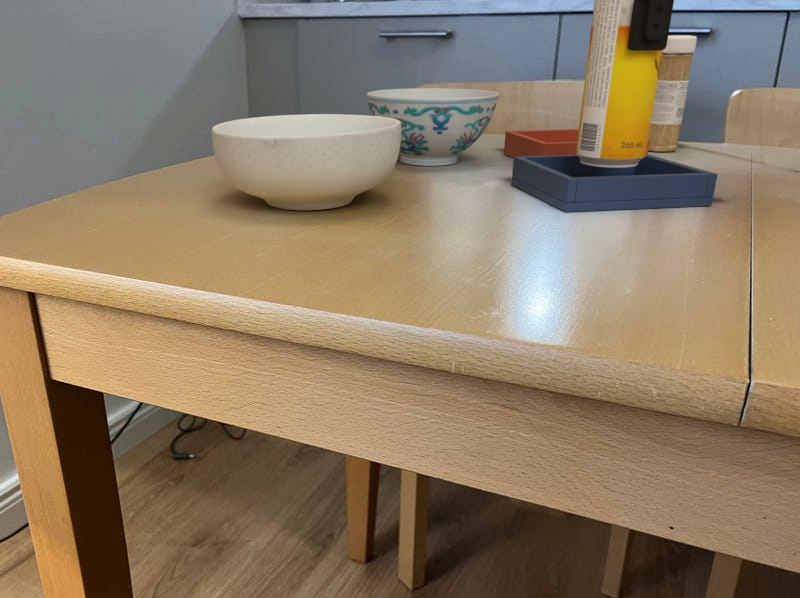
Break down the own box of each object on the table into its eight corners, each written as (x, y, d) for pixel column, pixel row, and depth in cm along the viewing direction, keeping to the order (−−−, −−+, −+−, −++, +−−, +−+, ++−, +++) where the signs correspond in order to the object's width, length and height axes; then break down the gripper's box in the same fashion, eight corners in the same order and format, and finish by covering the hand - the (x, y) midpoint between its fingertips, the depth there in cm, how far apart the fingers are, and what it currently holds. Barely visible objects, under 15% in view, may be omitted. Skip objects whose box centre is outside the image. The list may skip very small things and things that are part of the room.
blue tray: (637, 180, 77) (641, 152, 76) (711, 206, 66) (718, 173, 65) (510, 184, 76) (513, 156, 75) (564, 212, 64) (569, 179, 63)
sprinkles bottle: (653, 146, 99) (672, 35, 93) (685, 150, 95) (705, 35, 90) (631, 149, 97) (648, 35, 91) (662, 153, 93) (682, 35, 88)
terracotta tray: (598, 150, 96) (601, 128, 95) (646, 165, 85) (650, 140, 84) (503, 154, 94) (505, 130, 93) (540, 169, 84) (543, 143, 83)
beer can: (657, 164, 69) (688, -18, 63) (616, 171, 66) (644, -20, 60) (601, 156, 74) (625, -15, 68) (560, 162, 70) (582, -17, 64)
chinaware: (414, 177, 80) (417, 100, 77) (342, 158, 92) (342, 91, 89) (520, 164, 87) (527, 94, 84) (440, 148, 99) (443, 86, 96)
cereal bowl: (292, 178, 80) (290, 109, 77) (431, 195, 71) (435, 117, 68) (177, 207, 67) (170, 125, 65) (329, 233, 59) (329, 139, 56)
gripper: (782, -234, 51) (726, 51, 58) (647, -172, 67) (616, 47, 74) (680, -238, 50) (636, 52, 57) (567, -174, 66) (544, 47, 73)
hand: (625, 47), depth 66 cm, fingers closed on beer can, 6 cm apart
